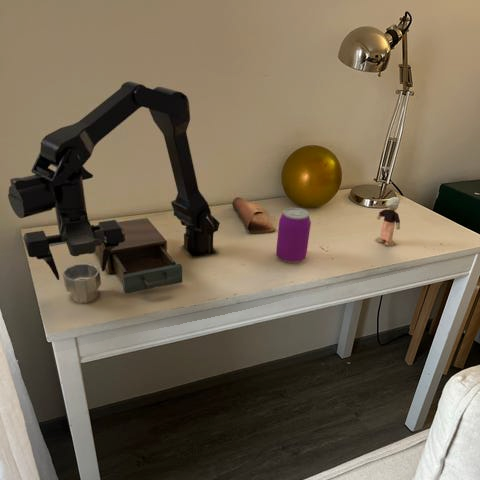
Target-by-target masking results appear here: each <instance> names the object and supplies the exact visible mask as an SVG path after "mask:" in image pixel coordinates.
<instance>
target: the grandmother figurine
mask: <svg viewBox="0 0 480 480" xmlns="http://www.w3.org/2000/svg"><path fill="white" fill-rule="evenodd" d="M400 202H401V201H400V198H399V197H397V196H393V197H390V198H389V199H388V200H386V202H385V205H386V206H387V208H386V209H383V210H381V211H379V212H378V214H377V216H376V219H377V220H378V221H379V220H381V218H383V221H382V225H381V228H380V235H379V239H377V242H378V243H384V245H385V246H394V245H395V242H394V240H393V238H394V237H393V236H394V231H395V229H396V230H400V229H401V220H400V216H399V213H398V212H396V211H397V210H398V208H399V205H400Z"/></svg>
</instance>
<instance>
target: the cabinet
mask: <svg viewBox="0 0 480 480" xmlns="http://www.w3.org/2000/svg"><path fill="white" fill-rule="evenodd" d="M117 222H118V223H119V224H120V226H121V227H122V228H123V230H124V233H125V241H124V242H122V243H119V245H118V246H116V247H114V248H113V249H112V250H111V252H110V253H116V252H121V251H127V250H133V249H139V248H144V247H150V246H156V245H162V246H163V247H164V249H165V250H166V251H167V252H168V241H167V240H166V238H165V237H164V236H163V234H161V232H160V231H159V230H158V228H157V227H155V225H154V224H153V223H152V221H150V220H149V218H148V217H143V218H136V219H129V220H123V221H117ZM95 226H98V224H95ZM95 247H96V251H95V253H96V255H97V257H98V258H99V259H100V257H99V246H95ZM105 270H106V272H107V274H108V275H112V274H116V272H115V271H114V269H113V267H112V266H111V260H110V254H109V256H108V260H107V263H106V267H105Z"/></svg>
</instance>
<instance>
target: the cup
mask: <svg viewBox="0 0 480 480" xmlns="http://www.w3.org/2000/svg"><path fill="white" fill-rule="evenodd" d="M62 278H63V284H64V288H65V290H66V292H67V293H70V296H71V298H72V300H73V301H74V302H76V303H80V304H85V303H90V302H93V301H95V300H96V299H97V298H98V290H99V288H100V287H101V286H102V280H101V279H102V278H101V270H99V268H98V266H97V265H94V264H90V263H76V264H73V265H69V266H67V267H65V269H64V270H63V271H62Z"/></svg>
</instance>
